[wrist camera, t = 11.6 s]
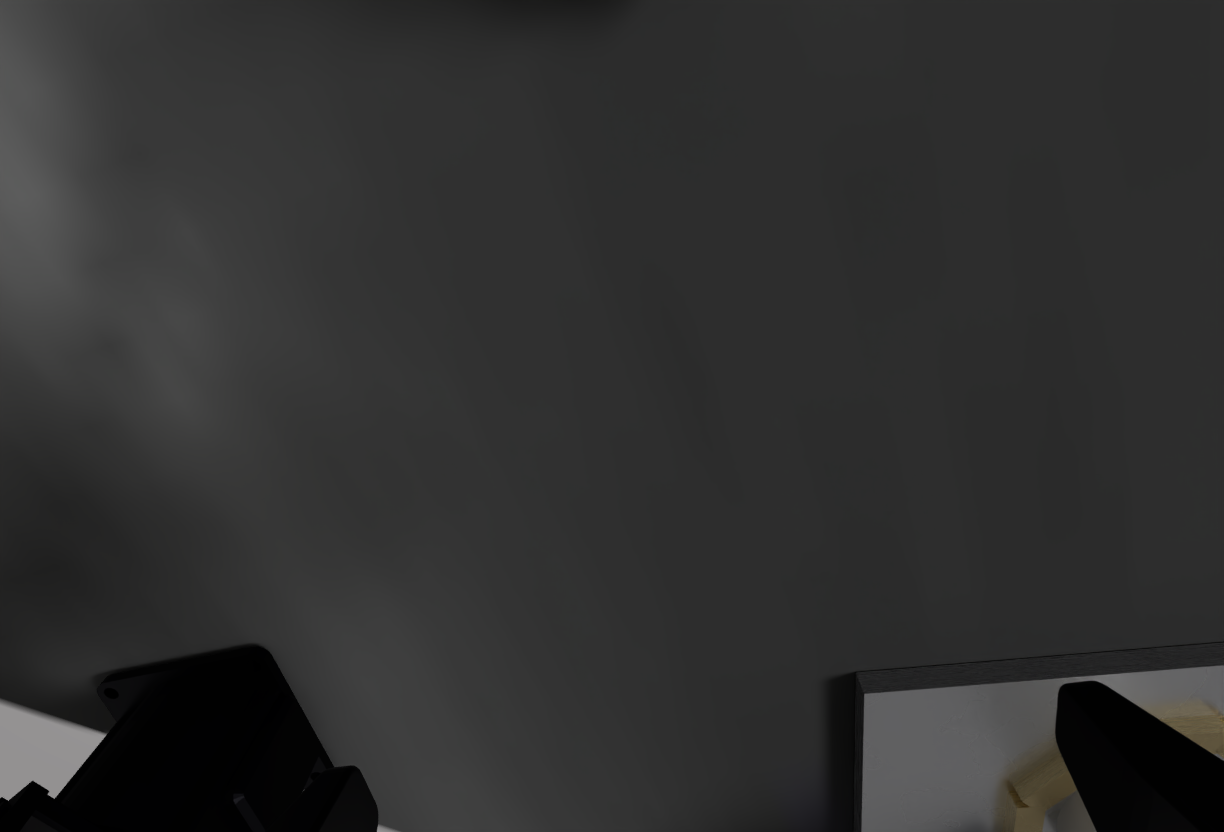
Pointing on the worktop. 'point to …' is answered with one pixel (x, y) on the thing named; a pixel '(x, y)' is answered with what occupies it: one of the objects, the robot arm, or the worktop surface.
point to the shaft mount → (1006, 734)
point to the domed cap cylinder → (1074, 816)
